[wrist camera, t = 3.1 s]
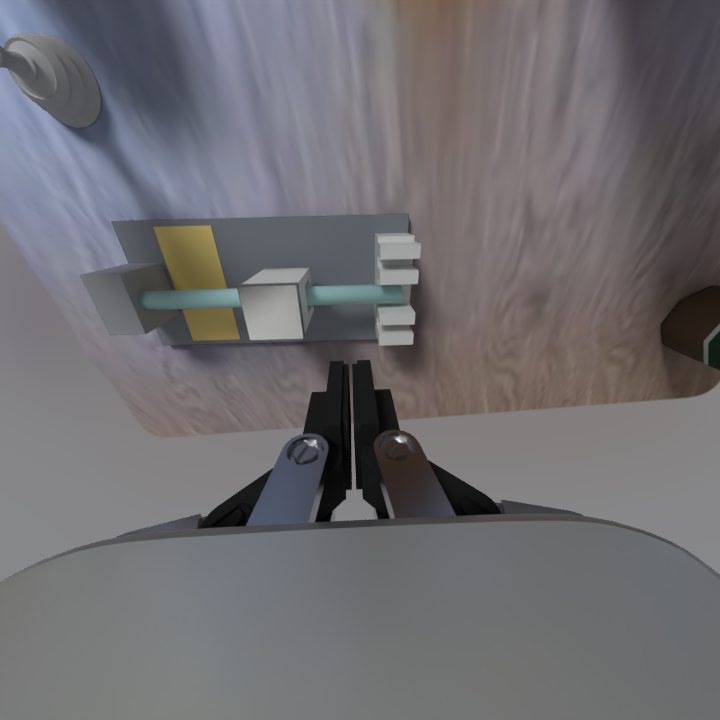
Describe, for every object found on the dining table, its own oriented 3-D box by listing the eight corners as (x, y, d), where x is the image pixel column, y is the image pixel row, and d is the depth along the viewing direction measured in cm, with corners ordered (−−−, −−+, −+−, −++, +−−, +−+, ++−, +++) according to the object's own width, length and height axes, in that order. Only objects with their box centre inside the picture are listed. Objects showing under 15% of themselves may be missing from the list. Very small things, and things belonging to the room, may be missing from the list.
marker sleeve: (309, 267, 24) (296, 284, 18) (314, 311, 26) (304, 339, 20) (263, 268, 24) (236, 286, 18) (271, 312, 26) (249, 340, 20)
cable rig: (407, 214, 25) (423, 215, 19) (400, 335, 30) (411, 363, 25) (118, 221, 24) (49, 224, 19) (167, 342, 30) (125, 372, 25)
